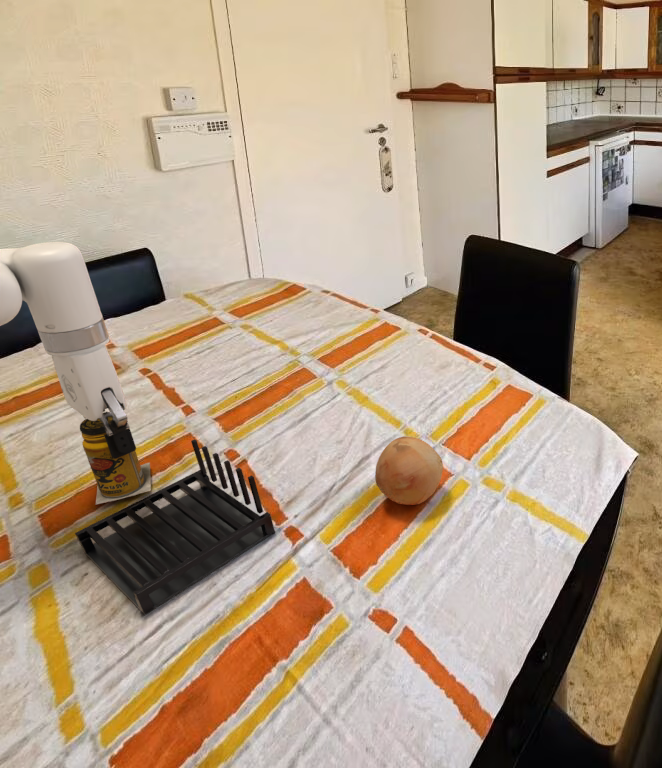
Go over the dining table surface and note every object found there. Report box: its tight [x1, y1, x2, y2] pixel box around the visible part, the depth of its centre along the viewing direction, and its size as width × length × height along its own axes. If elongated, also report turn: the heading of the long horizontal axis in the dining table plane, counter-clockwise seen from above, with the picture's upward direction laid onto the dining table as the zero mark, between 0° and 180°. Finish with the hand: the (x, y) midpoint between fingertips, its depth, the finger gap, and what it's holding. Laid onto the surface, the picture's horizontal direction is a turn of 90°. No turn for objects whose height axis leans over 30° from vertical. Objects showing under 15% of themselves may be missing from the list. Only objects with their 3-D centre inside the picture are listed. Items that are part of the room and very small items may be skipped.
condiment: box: [79, 412, 152, 505], centre depth 94 cm, size 7×8×12 cm
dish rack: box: [74, 439, 276, 616], centre depth 84 cm, size 18×18×9 cm
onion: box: [374, 436, 444, 506], centre depth 91 cm, size 10×10×10 cm
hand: (114, 445), depth 93 cm, fingers closed on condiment, 6 cm apart
